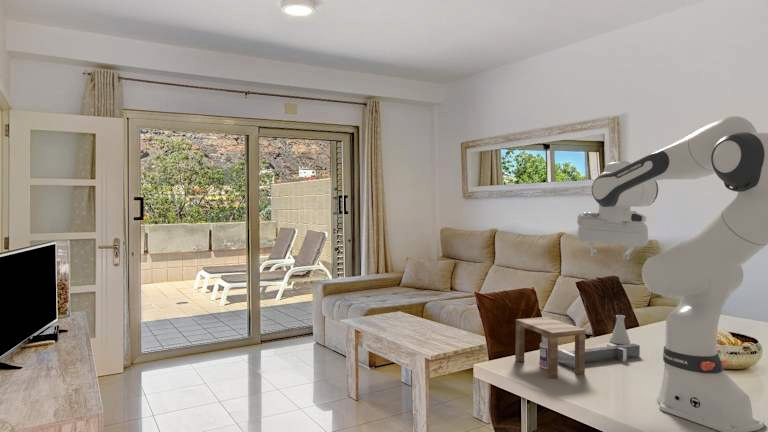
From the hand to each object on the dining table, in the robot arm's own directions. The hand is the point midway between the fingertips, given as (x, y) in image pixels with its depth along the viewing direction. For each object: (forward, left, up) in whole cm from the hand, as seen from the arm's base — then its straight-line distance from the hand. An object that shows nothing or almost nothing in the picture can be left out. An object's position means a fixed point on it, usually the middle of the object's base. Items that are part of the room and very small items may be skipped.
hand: (609, 257), depth 156 cm
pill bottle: (+5, +19, -35) cm, 40 cm away
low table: (+5, +19, -34) cm, 39 cm away
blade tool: (+5, -3, -35) cm, 35 cm away
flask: (+20, -25, -35) cm, 48 cm away
